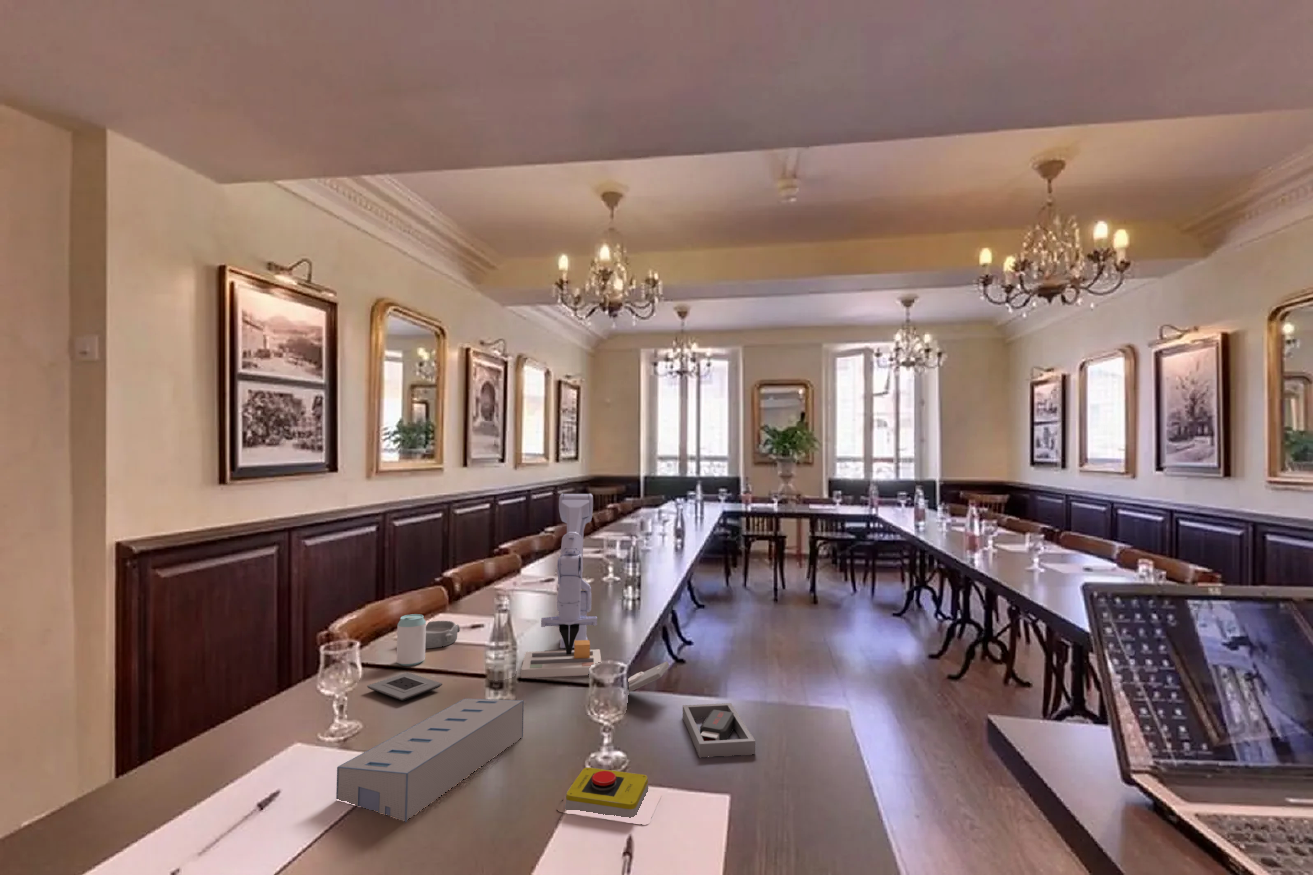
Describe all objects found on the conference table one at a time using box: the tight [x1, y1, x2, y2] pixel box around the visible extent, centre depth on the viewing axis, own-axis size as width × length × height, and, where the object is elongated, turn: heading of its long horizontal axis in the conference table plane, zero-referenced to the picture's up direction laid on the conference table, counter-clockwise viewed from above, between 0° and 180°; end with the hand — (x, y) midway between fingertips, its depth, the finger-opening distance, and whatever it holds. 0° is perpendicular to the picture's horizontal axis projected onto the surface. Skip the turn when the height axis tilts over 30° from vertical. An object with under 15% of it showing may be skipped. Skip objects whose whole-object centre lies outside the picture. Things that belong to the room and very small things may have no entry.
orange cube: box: [573, 639, 591, 658], centre depth 159 cm, size 4×4×4 cm
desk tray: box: [682, 702, 756, 759], centre depth 120 cm, size 18×10×2 cm, turn 8°
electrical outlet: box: [366, 671, 443, 702], centre depth 140 cm, size 13×10×2 cm
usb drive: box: [699, 710, 735, 741], centre depth 120 cm, size 5×12×3 cm, turn 159°
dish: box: [425, 620, 461, 649], centre depth 178 cm, size 14×14×5 cm
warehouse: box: [335, 698, 525, 823], centre depth 107 cm, size 30×14×8 cm, turn 158°
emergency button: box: [565, 766, 649, 818], centre depth 96 cm, size 9×4×15 cm
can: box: [396, 613, 427, 667], centre depth 161 cm, size 7×7×12 cm
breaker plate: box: [520, 648, 602, 679], centre depth 158 cm, size 14×20×3 cm
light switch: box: [627, 661, 670, 693], centre depth 137 cm, size 8×6×14 cm
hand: (568, 653), depth 159 cm, fingers closed
